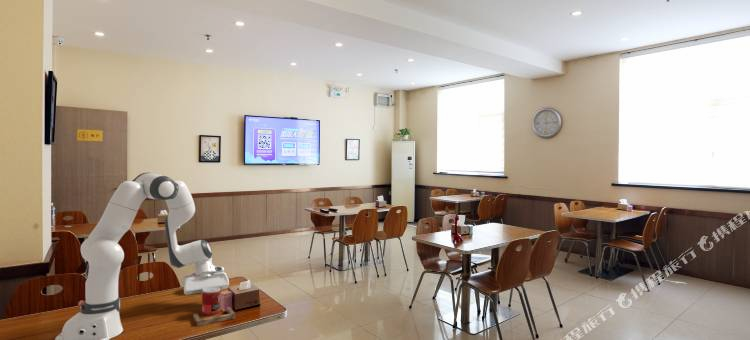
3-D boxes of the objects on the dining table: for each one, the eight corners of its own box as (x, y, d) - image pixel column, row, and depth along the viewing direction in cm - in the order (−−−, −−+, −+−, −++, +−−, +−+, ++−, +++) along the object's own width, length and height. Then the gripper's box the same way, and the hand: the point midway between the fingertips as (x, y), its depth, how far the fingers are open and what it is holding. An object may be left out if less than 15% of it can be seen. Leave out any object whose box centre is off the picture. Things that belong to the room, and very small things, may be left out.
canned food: (214, 316, 186) (214, 292, 186) (198, 314, 188) (198, 290, 187) (223, 309, 194) (223, 287, 193) (208, 308, 196) (208, 285, 195)
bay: (197, 325, 176) (197, 321, 176) (193, 317, 184) (193, 313, 184) (235, 318, 185) (235, 314, 185) (230, 310, 193) (230, 306, 193)
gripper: (182, 272, 194) (185, 299, 187) (227, 267, 206) (231, 292, 198) (180, 279, 198) (184, 306, 191) (224, 273, 210) (229, 298, 202)
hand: (208, 299), depth 194 cm, fingers closed, pressing on canned food
